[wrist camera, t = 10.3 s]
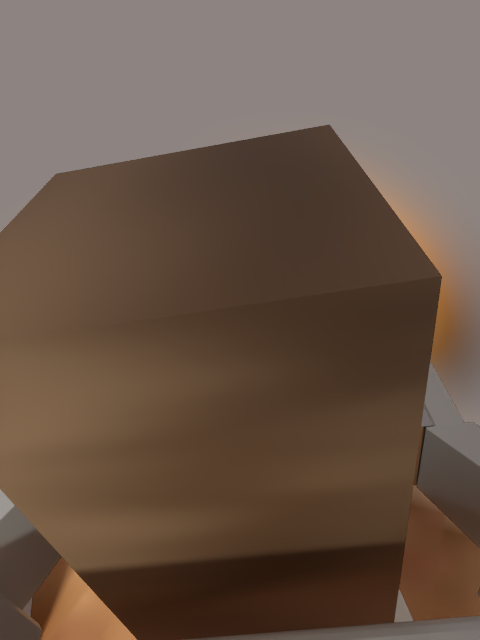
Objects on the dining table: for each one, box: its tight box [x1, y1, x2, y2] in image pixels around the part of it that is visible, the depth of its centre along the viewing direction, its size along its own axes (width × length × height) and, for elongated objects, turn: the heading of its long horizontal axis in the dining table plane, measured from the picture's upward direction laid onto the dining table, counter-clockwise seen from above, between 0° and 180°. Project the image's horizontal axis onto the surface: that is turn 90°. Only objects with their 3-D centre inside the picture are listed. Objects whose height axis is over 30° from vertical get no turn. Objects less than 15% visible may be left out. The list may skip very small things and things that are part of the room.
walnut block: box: [0, 125, 442, 640], centre depth 9 cm, size 5×5×12 cm
